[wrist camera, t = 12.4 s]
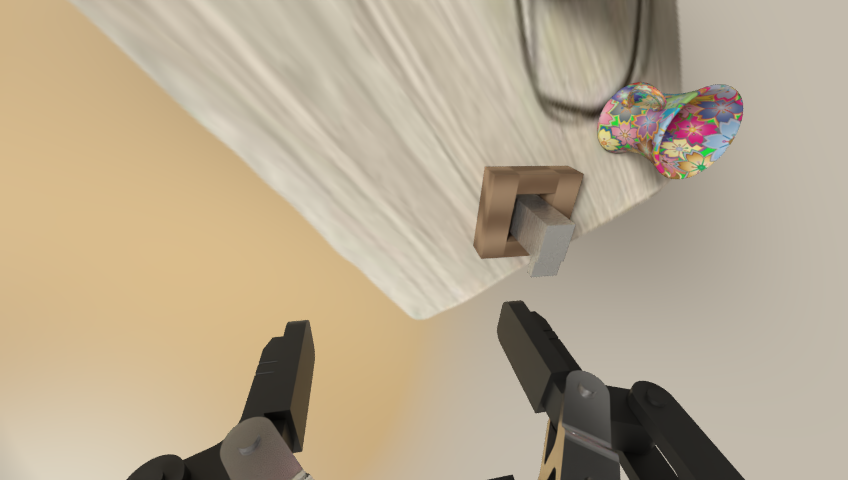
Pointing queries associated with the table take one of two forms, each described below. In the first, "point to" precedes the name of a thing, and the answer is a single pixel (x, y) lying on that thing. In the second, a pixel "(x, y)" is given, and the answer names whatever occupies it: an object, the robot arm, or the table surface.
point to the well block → (500, 196)
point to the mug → (672, 126)
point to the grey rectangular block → (541, 233)
